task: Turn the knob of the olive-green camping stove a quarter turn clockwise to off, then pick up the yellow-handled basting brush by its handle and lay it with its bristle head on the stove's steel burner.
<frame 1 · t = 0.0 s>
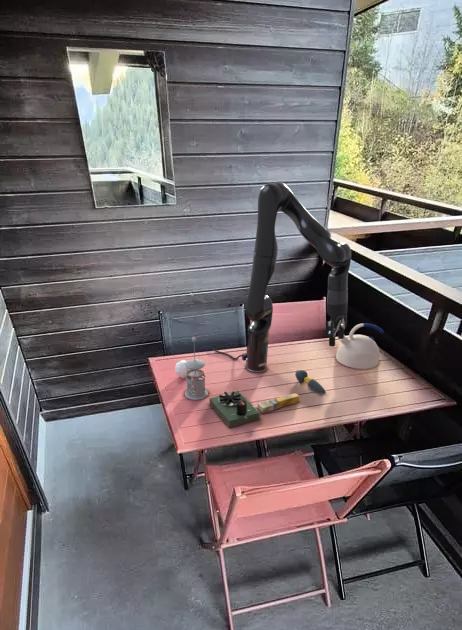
hand: (336, 342, 174), 22 cm above the table, tool pointing down, fingers open, 8 cm apart
stove: (233, 411, 174), on the table
french press: (195, 393, 185), on the table
stove knob: (241, 407, 166), point 5 cm above the table, hinge at 0.0°
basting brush: (265, 409, 175), on the table
kettle: (356, 359, 212), on the table
ball: (184, 377, 196), on the table
burner: (229, 407, 176), resting on stove
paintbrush: (309, 386, 191), on the table
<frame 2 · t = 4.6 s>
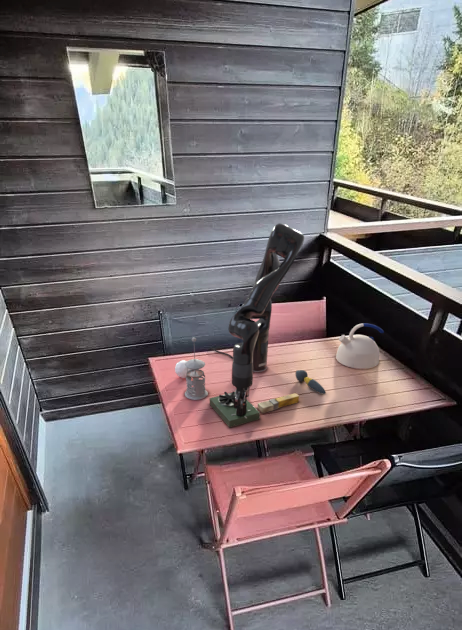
hand: (241, 412, 167), 3 cm above the table, tool pointing down, fingers closed on stove knob, 4 cm apart
stove knob: (241, 407, 166), point 5 cm above the table, hinge at -0.1°, touching gripper
everything else where it was.
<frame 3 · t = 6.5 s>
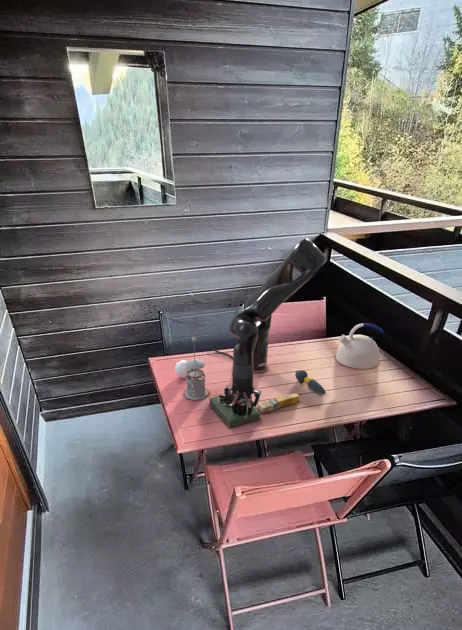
hand: (242, 413, 167), 3 cm above the table, tool pointing down, fingers open, 5 cm apart
stove knob: (241, 407, 166), point 5 cm above the table, hinge at -92.5°
everything else where it was.
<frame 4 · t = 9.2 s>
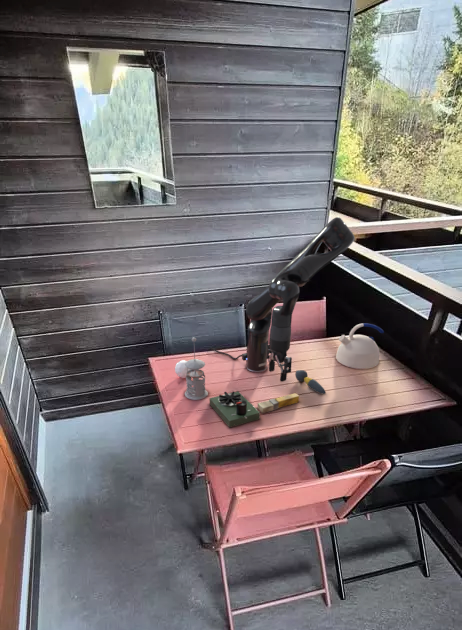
hand: (277, 375, 168), 14 cm above the table, tool pointing down, fingers open, 8 cm apart
nothing on the table moved.
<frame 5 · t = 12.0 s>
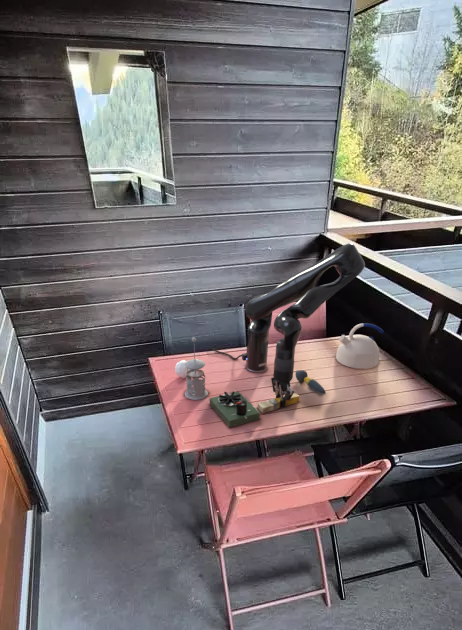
hand: (280, 405, 178), 0 cm above the table, tool pointing down, fingers closed on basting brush, 2 cm apart
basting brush: (265, 409, 175), on the table, touching gripper
everything else where it was.
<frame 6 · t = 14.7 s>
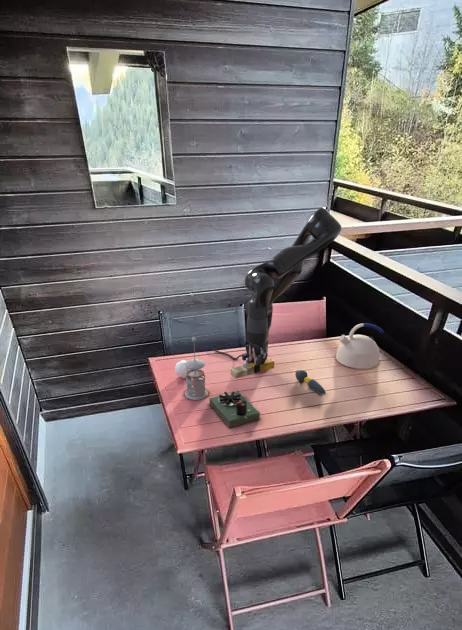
hand: (254, 370, 170), 15 cm above the table, tool pointing down, fingers closed on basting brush, 2 cm apart
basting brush: (238, 374, 167), point 15 cm above the table, touching gripper
everything else where it was.
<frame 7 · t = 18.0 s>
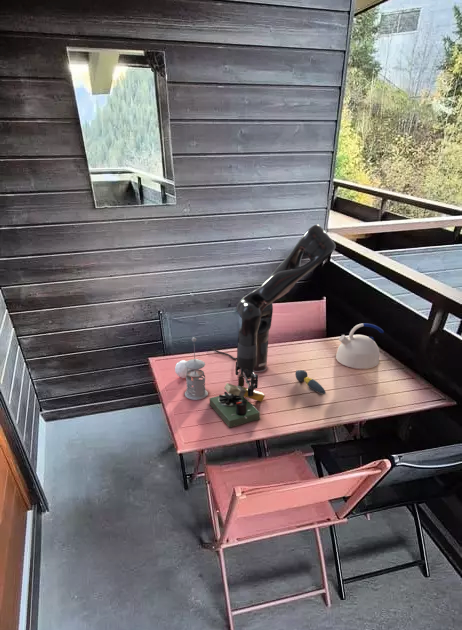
hand: (245, 391, 175), 6 cm above the table, tool pointing down, fingers open, 7 cm apart
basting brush: (231, 392, 172), point 7 cm above the table, tilted 28°, touching burner
everything else where it was.
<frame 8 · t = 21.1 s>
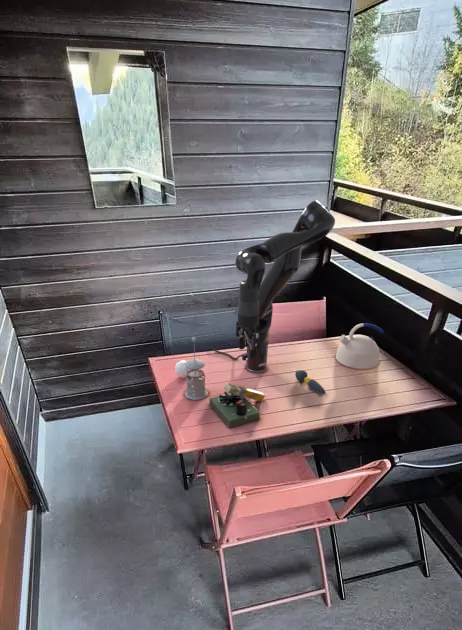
hand: (247, 353, 166), 22 cm above the table, tool pointing down, fingers open, 8 cm apart
nothing on the table moved.
at the end: stove knob at -92° (first picture: +0°); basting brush inside the target area on the burner (0.5 cm from its centre), point 6.9 cm above the burner's base; the gripper is holding nothing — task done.
